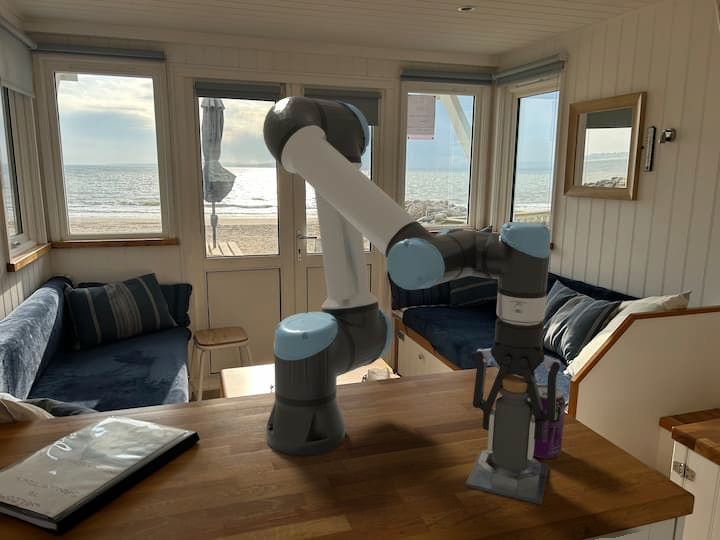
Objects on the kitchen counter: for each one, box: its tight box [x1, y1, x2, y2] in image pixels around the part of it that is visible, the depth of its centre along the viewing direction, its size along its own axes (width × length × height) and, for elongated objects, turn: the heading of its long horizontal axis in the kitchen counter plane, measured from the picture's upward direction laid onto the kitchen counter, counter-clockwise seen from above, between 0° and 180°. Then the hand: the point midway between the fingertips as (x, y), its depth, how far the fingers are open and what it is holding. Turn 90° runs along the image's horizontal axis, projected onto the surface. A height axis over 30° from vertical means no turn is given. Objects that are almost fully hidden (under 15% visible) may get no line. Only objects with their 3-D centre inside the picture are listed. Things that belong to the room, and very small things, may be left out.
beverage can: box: [527, 383, 566, 459], centre depth 103 cm, size 7×7×12 cm
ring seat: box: [465, 449, 550, 505], centre depth 96 cm, size 12×12×3 cm
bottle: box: [492, 374, 532, 470], centre depth 94 cm, size 6×6×15 cm
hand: (510, 451), depth 95 cm, fingers closed on bottle, 6 cm apart
